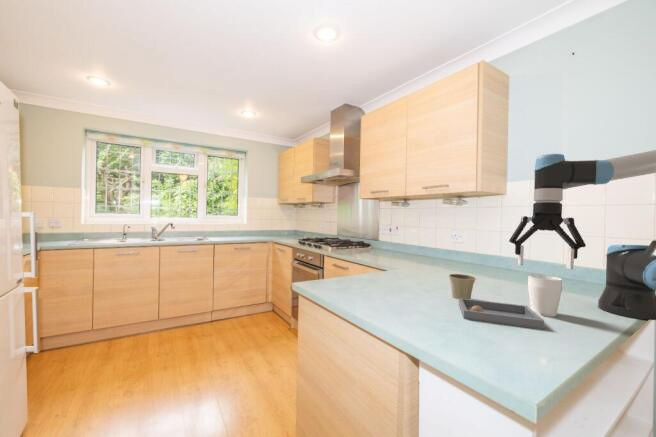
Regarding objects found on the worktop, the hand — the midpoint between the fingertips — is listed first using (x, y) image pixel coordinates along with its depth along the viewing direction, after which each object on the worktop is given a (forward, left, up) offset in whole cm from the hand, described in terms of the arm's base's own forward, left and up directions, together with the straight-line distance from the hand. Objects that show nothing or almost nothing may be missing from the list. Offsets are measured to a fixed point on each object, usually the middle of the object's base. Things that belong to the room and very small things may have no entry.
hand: (544, 266), depth 93 cm
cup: (0, 0, -16) cm, 16 cm away
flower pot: (+24, -6, -16) cm, 29 cm away
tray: (+16, +11, -15) cm, 25 cm away
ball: (+22, +15, -15) cm, 31 cm away
